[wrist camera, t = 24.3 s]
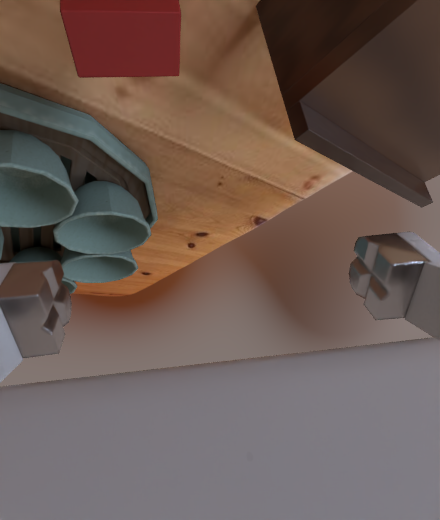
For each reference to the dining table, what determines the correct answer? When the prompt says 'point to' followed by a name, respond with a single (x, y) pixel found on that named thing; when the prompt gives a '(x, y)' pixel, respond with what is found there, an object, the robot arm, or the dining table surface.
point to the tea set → (69, 191)
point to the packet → (123, 37)
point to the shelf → (362, 84)
